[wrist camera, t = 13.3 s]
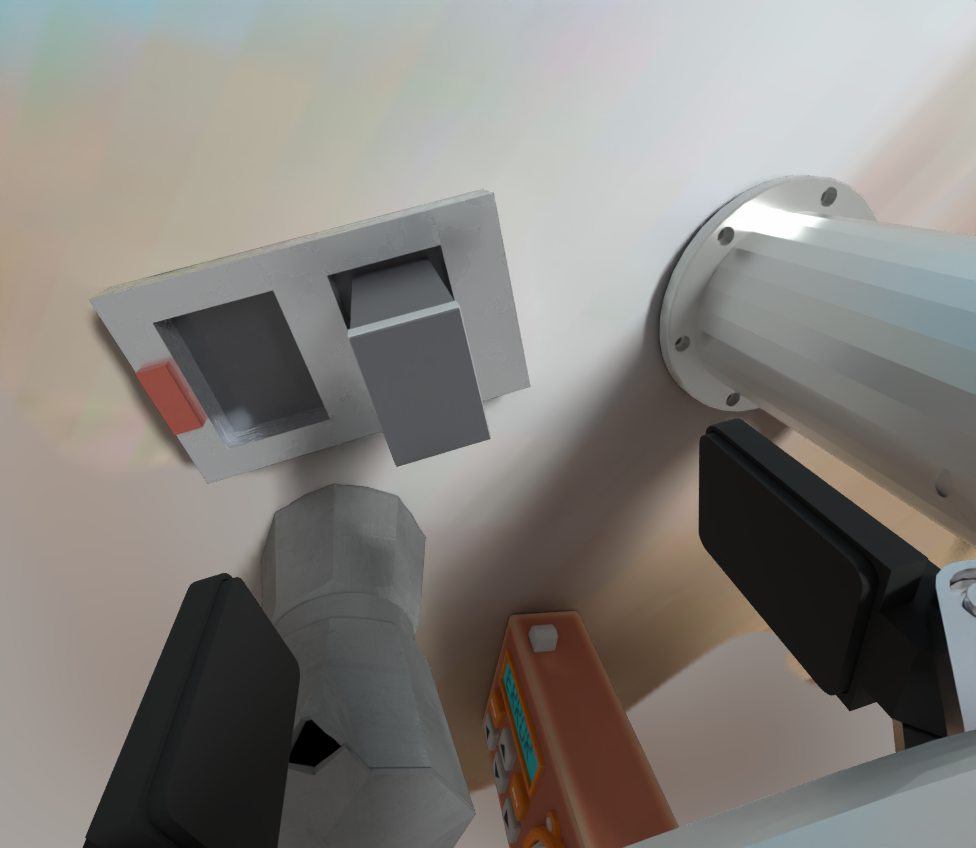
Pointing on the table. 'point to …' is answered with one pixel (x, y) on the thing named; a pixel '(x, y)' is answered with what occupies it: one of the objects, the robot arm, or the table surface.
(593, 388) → the table surface
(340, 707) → the coffeepot
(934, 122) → the table surface
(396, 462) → the plug
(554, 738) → the control panel
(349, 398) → the power strip
